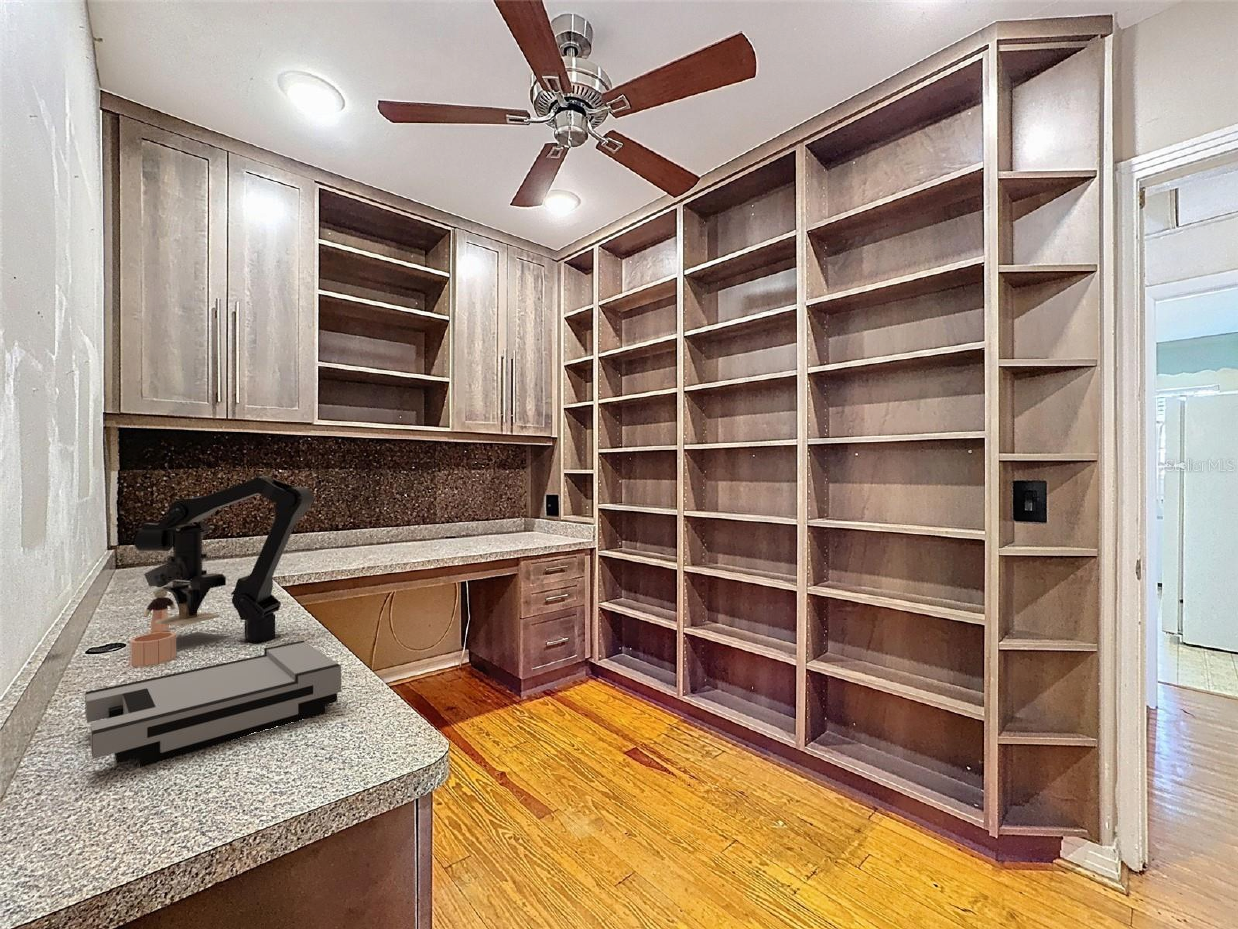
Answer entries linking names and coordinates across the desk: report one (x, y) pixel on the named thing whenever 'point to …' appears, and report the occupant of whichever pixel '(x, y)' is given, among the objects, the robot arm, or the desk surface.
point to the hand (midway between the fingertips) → (188, 614)
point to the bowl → (152, 649)
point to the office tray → (210, 704)
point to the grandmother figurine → (159, 609)
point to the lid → (186, 617)
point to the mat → (196, 640)
